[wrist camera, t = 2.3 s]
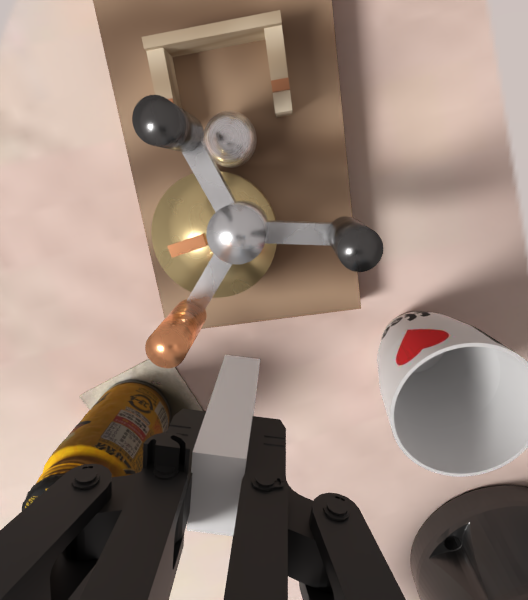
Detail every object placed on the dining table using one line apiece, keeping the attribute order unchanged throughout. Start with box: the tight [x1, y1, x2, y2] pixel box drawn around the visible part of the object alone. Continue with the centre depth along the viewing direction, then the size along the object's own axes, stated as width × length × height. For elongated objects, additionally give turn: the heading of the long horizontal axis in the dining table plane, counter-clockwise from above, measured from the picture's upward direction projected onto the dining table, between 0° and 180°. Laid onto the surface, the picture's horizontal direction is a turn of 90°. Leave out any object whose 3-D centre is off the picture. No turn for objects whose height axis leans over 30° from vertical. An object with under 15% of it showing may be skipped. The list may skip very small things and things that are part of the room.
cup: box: [377, 312, 528, 476], centre depth 28 cm, size 8×8×10 cm
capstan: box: [132, 95, 383, 368], centre depth 24 cm, size 13×12×10 cm
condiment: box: [22, 359, 203, 511], centre depth 30 cm, size 7×8×12 cm
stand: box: [93, 0, 361, 329], centre depth 27 cm, size 22×14×4 cm, turn 9°
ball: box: [203, 111, 257, 168], centre depth 26 cm, size 3×3×3 cm
